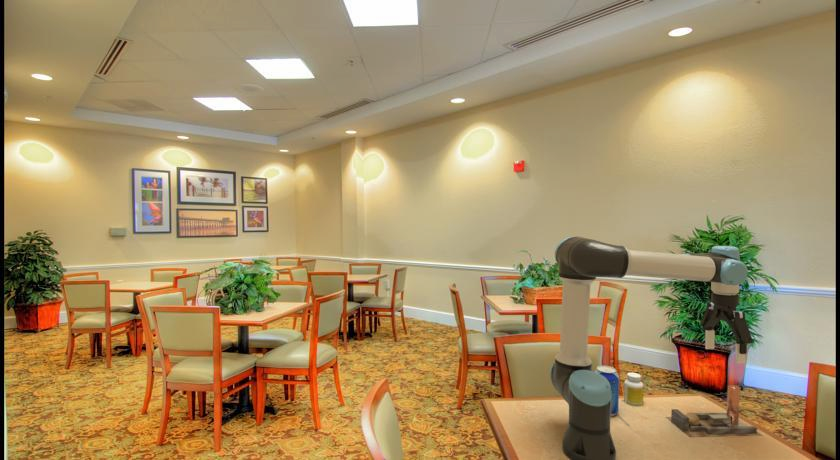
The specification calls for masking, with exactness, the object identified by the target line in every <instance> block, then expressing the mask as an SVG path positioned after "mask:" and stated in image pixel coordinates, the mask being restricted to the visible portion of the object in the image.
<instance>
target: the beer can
mask: <svg viewBox="0 0 840 460" xmlns="http://www.w3.org/2000/svg"><path fill="white" fill-rule="evenodd" d="M594 372H596V373H597V374H598V373H599V374H601V375H602V376H604V377H605V378H606V379H607V380H608V381H609V383H610V387H611V412H610V418H612V417H614V416H615V417H616V415H617V413H618V412H619V399H620V397H619V394H620V393H619V392H620V375H619V373H618V372H617V369H616V368H614V367H613V366H609V365H598V366H597V367H596V369H595V370H594Z"/></svg>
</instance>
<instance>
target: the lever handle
mask: <svg viewBox="0 0 840 460" xmlns="http://www.w3.org/2000/svg"><path fill="white" fill-rule="evenodd" d="M740 391H741V387H740V386H739V385H735V384H728V385H727V398H726V399H727V401H726V413H727V415H726V414H725V415H708V420H709V421H710V422H712V423H713V424H719V423H721V424H722V425H724V426H725V427H736V426H748V424H746V423H745V422H743V421H741V420H740V417H739V416H740V397H741V395H740Z"/></svg>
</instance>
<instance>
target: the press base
mask: <svg viewBox="0 0 840 460" xmlns="http://www.w3.org/2000/svg"><path fill="white" fill-rule="evenodd" d="M693 413H694V414H696V415H697V416H698V418H699V421H700V422H699V425H698V426H689V418H688V417H687V416H686V415H685V414H684V412H681V411H680V410H679V409H678V408H677V409H673V408H671V416H665V419H667V420H668V421H669V422H670V423H672V424H673V425H675V426H676V427H677V428H678V429H679V430H681V432H683V433H684V434H685V435H686V436H688V437H689V438H708V437H709V438H710V437H711V438H714V437H715V438H719V437H761V436H762V437H763V436H764V435H763V434H761V433H760V432H758V428H757V427H756V426H754V425H750V426H749V425H747V426H736V427H725V426H724V425H722V424H721V423H719V424H713V423H712V422H710V421H709V420H708V415H725V414H726V415H727V412H693Z"/></svg>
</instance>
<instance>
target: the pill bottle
mask: <svg viewBox="0 0 840 460" xmlns="http://www.w3.org/2000/svg"><path fill="white" fill-rule="evenodd" d="M626 377H627V379H625V380H624V382H623V383H624V384H623V385H624V386H623V387H624V389H623V390H624V391H623V402H624V403H625V404H627V405H629V406H633V407H641V406H643V405H644V387H645V386H644V383H643V382H642V381H641V380H642V375H641V374H640V373H636V372H628V373H626Z"/></svg>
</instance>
